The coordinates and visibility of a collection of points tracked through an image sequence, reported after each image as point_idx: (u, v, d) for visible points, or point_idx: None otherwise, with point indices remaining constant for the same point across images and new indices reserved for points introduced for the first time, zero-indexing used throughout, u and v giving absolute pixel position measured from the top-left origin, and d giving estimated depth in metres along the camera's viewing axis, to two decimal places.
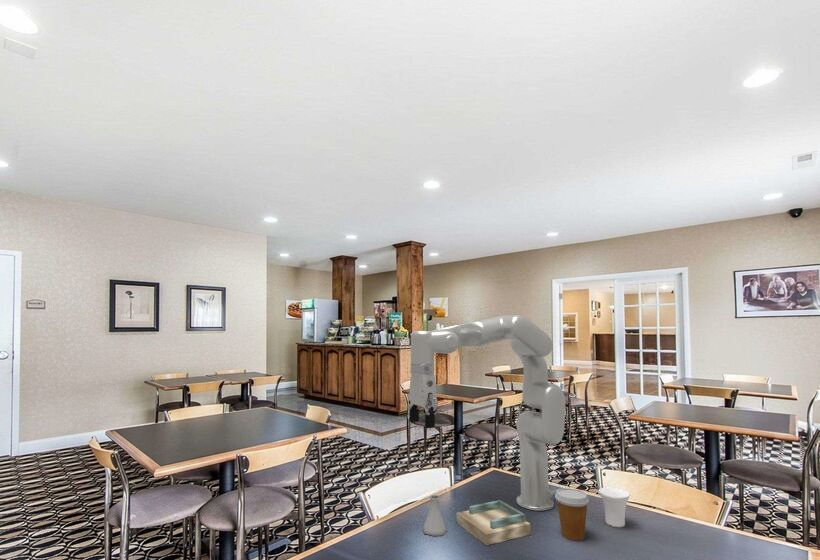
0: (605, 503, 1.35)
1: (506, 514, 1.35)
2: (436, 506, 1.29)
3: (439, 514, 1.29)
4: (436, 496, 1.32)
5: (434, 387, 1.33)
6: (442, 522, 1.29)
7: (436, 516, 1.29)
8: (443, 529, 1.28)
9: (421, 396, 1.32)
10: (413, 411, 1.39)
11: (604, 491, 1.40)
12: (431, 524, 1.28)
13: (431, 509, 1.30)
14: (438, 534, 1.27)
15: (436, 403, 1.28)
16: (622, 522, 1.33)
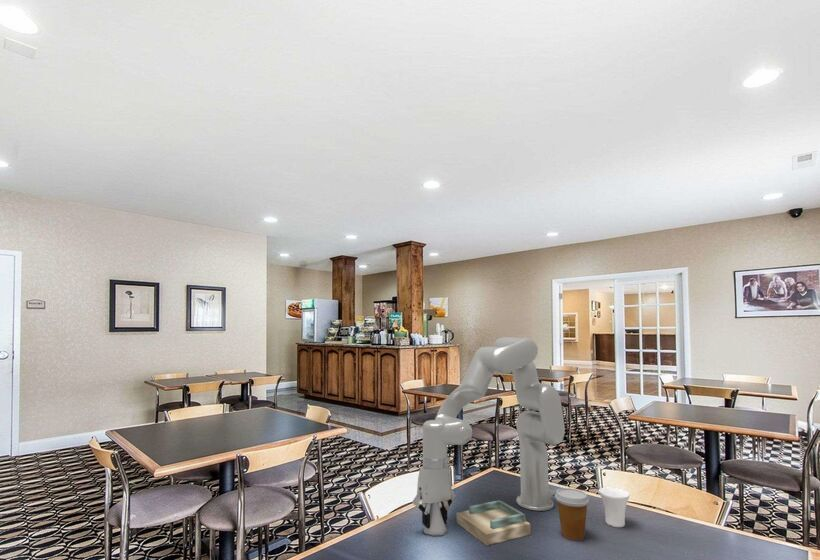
0: (605, 503, 1.35)
1: (506, 514, 1.35)
2: (436, 506, 1.29)
3: (439, 514, 1.29)
4: None
5: None
6: (442, 522, 1.29)
7: (436, 516, 1.29)
8: (444, 529, 1.28)
9: (448, 489, 1.31)
10: None
11: (605, 491, 1.40)
12: (431, 524, 1.28)
13: (431, 509, 1.30)
14: (438, 534, 1.27)
15: None
16: (622, 522, 1.33)
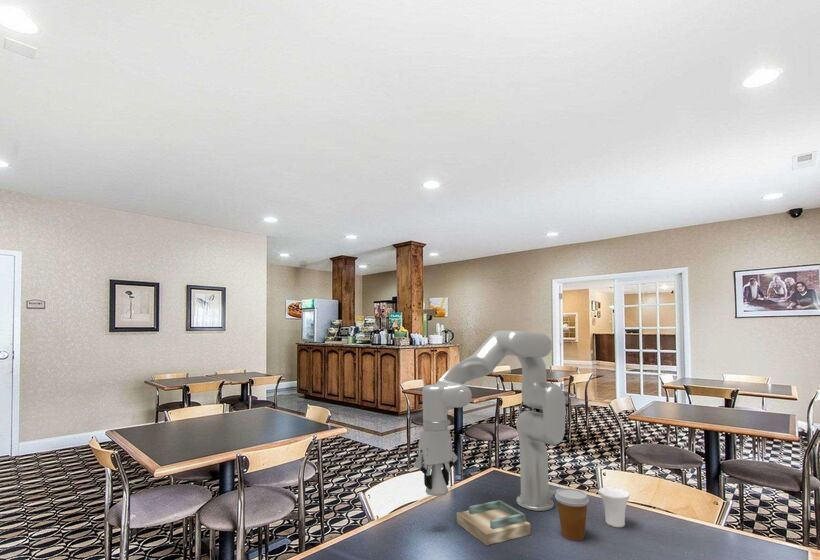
0: (605, 503, 1.35)
1: (506, 514, 1.35)
2: (438, 467, 1.31)
3: (441, 475, 1.31)
4: None
5: None
6: (444, 483, 1.31)
7: (438, 478, 1.30)
8: (446, 489, 1.30)
9: (449, 451, 1.32)
10: None
11: (605, 491, 1.40)
12: (434, 485, 1.30)
13: (433, 471, 1.31)
14: (440, 494, 1.28)
15: None
16: (622, 522, 1.33)
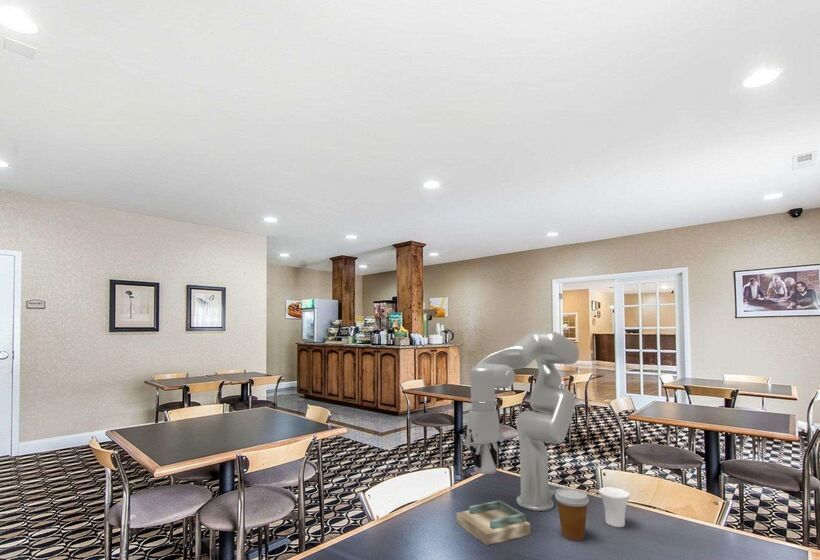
0: (605, 503, 1.35)
1: (506, 514, 1.35)
2: (486, 447, 1.34)
3: (489, 454, 1.34)
4: None
5: None
6: (492, 462, 1.33)
7: (487, 456, 1.33)
8: (494, 468, 1.33)
9: (497, 431, 1.35)
10: None
11: (605, 491, 1.40)
12: (482, 463, 1.32)
13: (481, 450, 1.34)
14: (489, 472, 1.31)
15: None
16: (622, 522, 1.33)
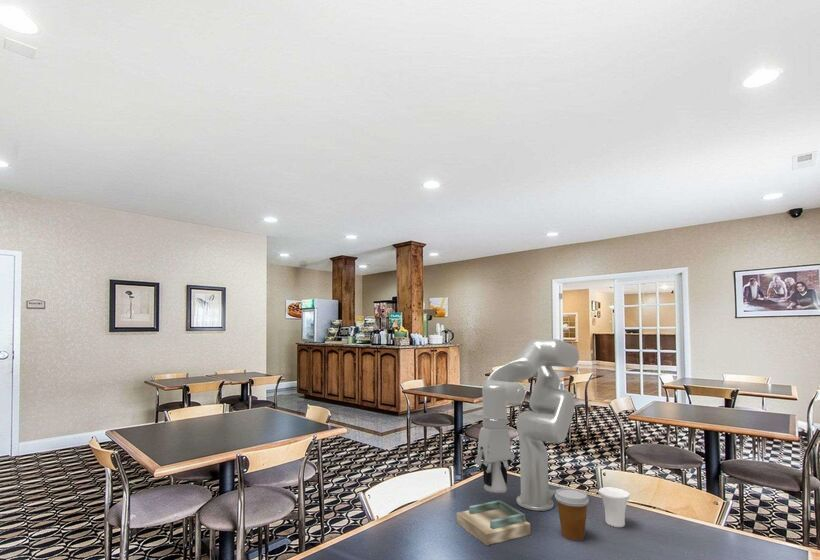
0: (605, 503, 1.35)
1: (506, 514, 1.35)
2: (497, 465, 1.33)
3: (500, 473, 1.33)
4: None
5: None
6: (503, 480, 1.33)
7: (498, 475, 1.32)
8: (505, 487, 1.32)
9: (508, 449, 1.35)
10: None
11: (605, 491, 1.40)
12: (493, 482, 1.32)
13: (492, 468, 1.33)
14: (500, 491, 1.30)
15: None
16: (622, 522, 1.33)
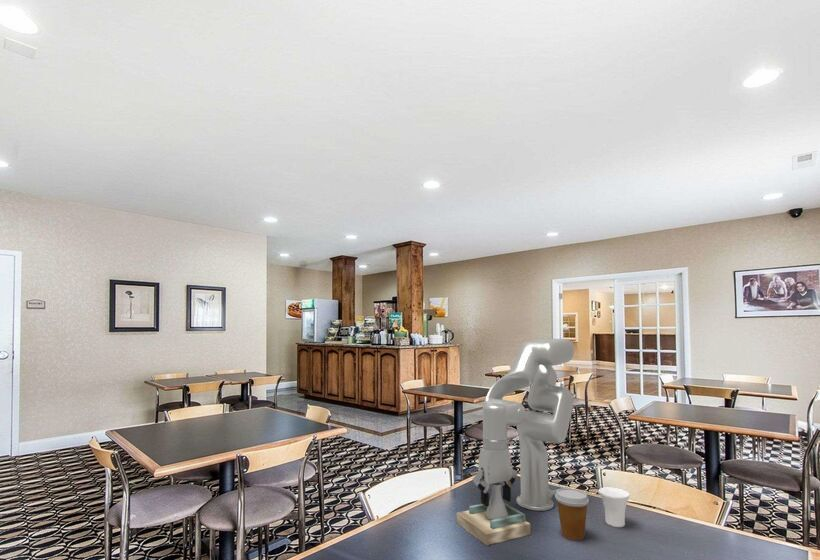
0: (605, 503, 1.35)
1: None
2: (498, 492, 1.33)
3: (501, 500, 1.32)
4: (497, 483, 1.35)
5: None
6: (504, 508, 1.32)
7: (499, 502, 1.32)
8: (506, 514, 1.31)
9: (508, 470, 1.34)
10: None
11: (604, 491, 1.40)
12: (495, 510, 1.31)
13: (493, 495, 1.33)
14: None
15: None
16: (622, 522, 1.33)
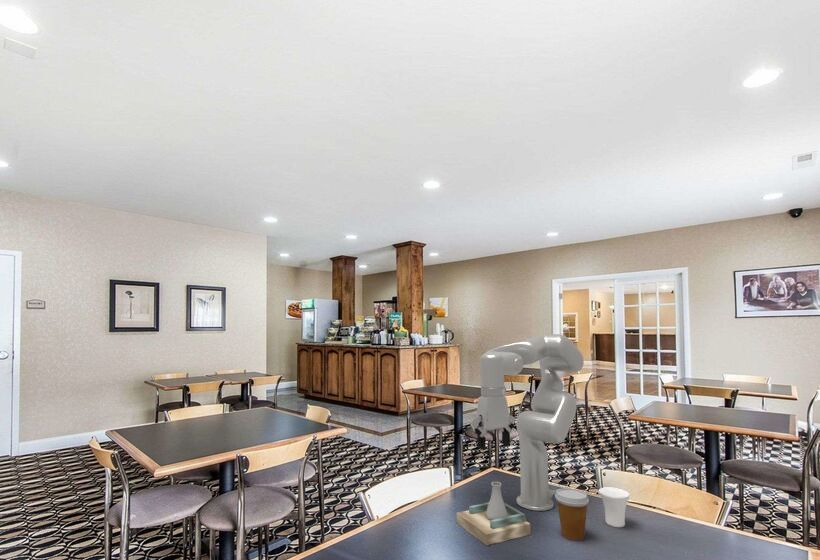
0: (605, 503, 1.35)
1: None
2: (498, 492, 1.33)
3: (501, 500, 1.32)
4: (497, 483, 1.35)
5: None
6: (504, 508, 1.32)
7: (499, 502, 1.32)
8: (506, 514, 1.31)
9: (506, 417, 1.37)
10: None
11: (605, 491, 1.40)
12: (495, 510, 1.31)
13: (493, 495, 1.33)
14: None
15: None
16: (622, 522, 1.33)
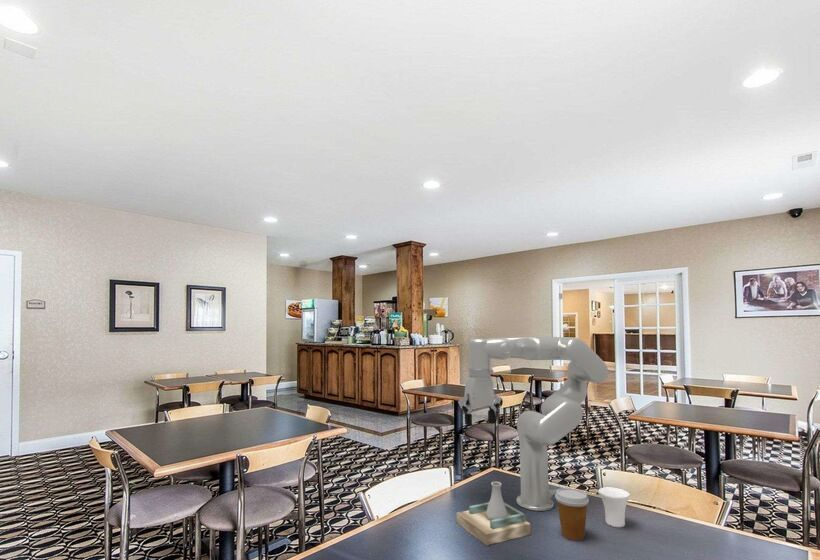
0: (605, 503, 1.35)
1: None
2: (498, 492, 1.33)
3: (501, 500, 1.32)
4: (497, 483, 1.35)
5: None
6: (504, 508, 1.32)
7: (499, 502, 1.32)
8: (506, 514, 1.31)
9: (491, 396, 1.50)
10: None
11: (604, 491, 1.40)
12: (495, 510, 1.31)
13: (493, 495, 1.33)
14: None
15: None
16: (622, 522, 1.33)
